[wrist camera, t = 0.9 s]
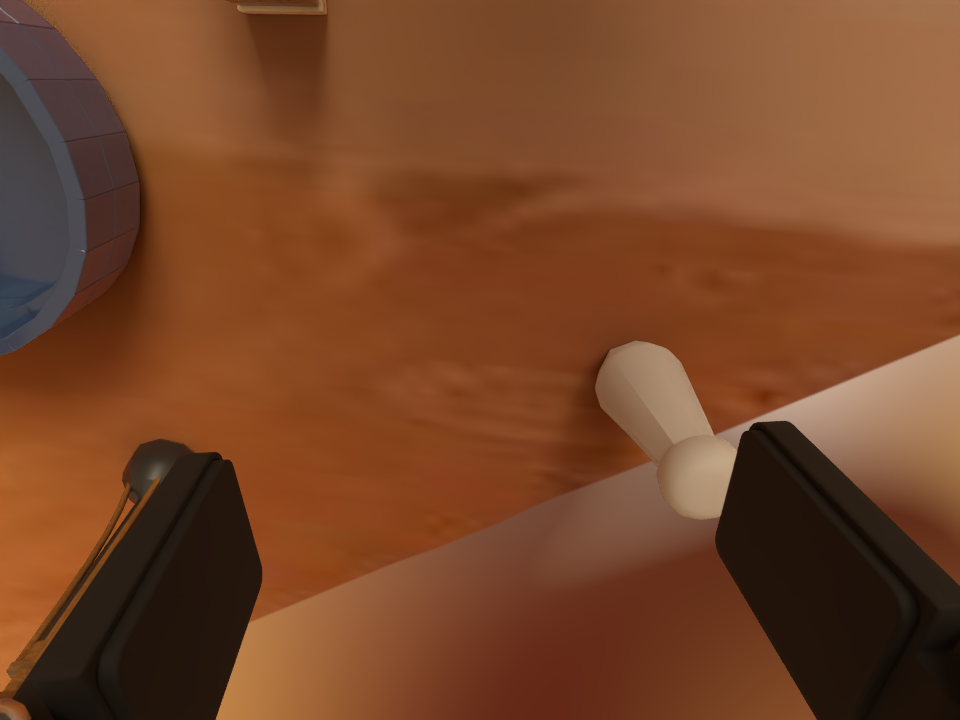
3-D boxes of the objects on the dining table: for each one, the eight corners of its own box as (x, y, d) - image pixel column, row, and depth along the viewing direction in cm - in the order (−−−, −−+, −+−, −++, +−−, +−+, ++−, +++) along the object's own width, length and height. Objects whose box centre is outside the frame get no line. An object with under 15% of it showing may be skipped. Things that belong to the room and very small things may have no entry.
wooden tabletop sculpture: (141, 502, 40) (-95, 844, 22) (104, 454, 38) (-191, 789, 20) (216, 482, 39) (37, 812, 22) (183, 432, 37) (-47, 753, 19)
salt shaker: (573, 391, 38) (634, 526, 27) (608, 319, 36) (690, 434, 24) (646, 410, 39) (734, 548, 28) (684, 342, 37) (797, 462, 25)
